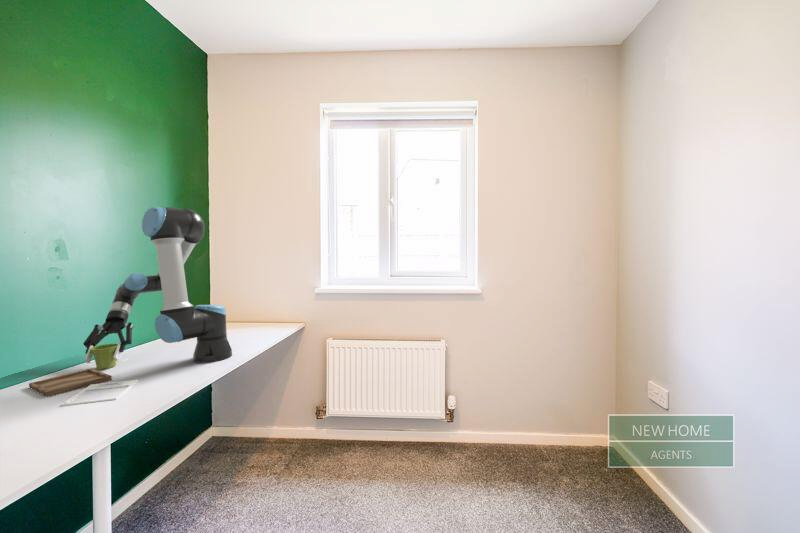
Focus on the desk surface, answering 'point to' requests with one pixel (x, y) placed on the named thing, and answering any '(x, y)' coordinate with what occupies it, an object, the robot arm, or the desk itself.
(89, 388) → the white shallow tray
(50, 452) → the desk surface
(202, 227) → the robot arm
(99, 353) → the plant pot
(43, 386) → the walnut tray
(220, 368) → the desk surface
